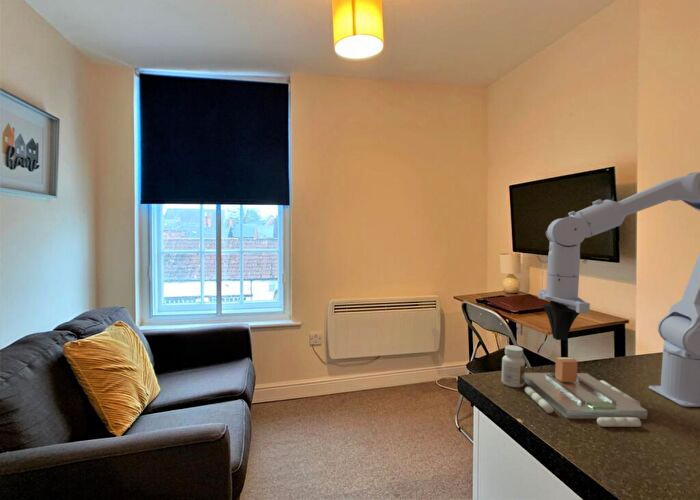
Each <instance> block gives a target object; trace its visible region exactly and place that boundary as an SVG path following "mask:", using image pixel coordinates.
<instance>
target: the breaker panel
mask: <svg viewBox="0 0 700 500" xmlns="http://www.w3.org/2000/svg"><path fill="white" fill-rule="evenodd" d="M524 381H525V382H524V383H525V384H526V385H528V387H531V388H532V389H533V390H534V391H535V392H536V393H537V394H539V395H540V396H541V397H542V398H543V399H544V400H545V401H547V402H548V403H549V404H550V405H551V406H552V407H553V409H554V410H556V411H558V413H559V414H560V415H562V417H564V418H565V419H568V420H569V419H572V420H573V419H574V420H575V419H576V420H577V419H579V420H581V419H587V420H588V419H589V420H591V419H592V420H593V419H594V420H595V419H596V420H597V419H598V418H599V417H632V418H638V419H639V420H648V410H647V409H646V408H644V407H642V406H639V405H638V404H636V403H634V402H633V401H631V400H629V399H628V398H626V397H625V396H623V395H621V394H620V393H618V392H616V391H615V390H613V389H612V388H610V387H608V386H607V385H605V384H603V383H602V382H600V380H599V379H597V378H595V377H593V376H592V375H590V374H589V373H587V372H577V382H561V381H560V380H559V379H557V378H556V377H555V372H553V371H552V372H550V371H549V372H525V375H524Z"/></svg>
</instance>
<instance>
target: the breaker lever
mask: <svg viewBox="0 0 700 500" xmlns="http://www.w3.org/2000/svg"><path fill="white" fill-rule="evenodd" d="M554 368H555V370H554V371H555V377H556V378H557V379H559V380H560V381H561V382H577V373H578V361H577V360H576V359H575V358H573V357H570V356H569V357H568V356H567V357H566V356H564V357H563V356H556V357H555V367H554Z"/></svg>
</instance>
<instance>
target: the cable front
mask: <svg viewBox="0 0 700 500" xmlns="http://www.w3.org/2000/svg"><path fill="white" fill-rule="evenodd" d="M524 392H525V394H527V395H528V396H529V397H530V398H531V399H532V400H533V401H534V402H535V403H536V404H537V405H539V407H541V408H542V409H543V410H544V411H545V412H546V413H547V414H552V413H553V412H554V410H555V408H554V407H553V406H552V405H551V404H549V403H548V402H547V401H546V400H545V399H544V398H543V397H541V396H540V395H539V394H538V393H537V392H536V391H535V390H534V389H532V388H531V387H530V386H526V387H525V388H524Z"/></svg>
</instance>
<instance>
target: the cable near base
mask: <svg viewBox="0 0 700 500" xmlns="http://www.w3.org/2000/svg"><path fill="white" fill-rule="evenodd" d="M599 381H600V382H602V383H603V384H605V385H607V386H608V387H610V388H612V389H613V390H615V391H616V392H618V393H620V394H621V395H623V396H625V397H626V398H628V399H629V400H631V401H633V402H634V403H636V404H638V405H639V406H641V402H640V401H639V400H637V399H635V398H633V397H631V396H630V395H628V394H627V393H625V392H623V391H622V390H620V389H618V388H616V386H613V385H612V384H611V383H608V382H607V381H605V380H603V379H601V380H599ZM641 407H642V406H641Z"/></svg>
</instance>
